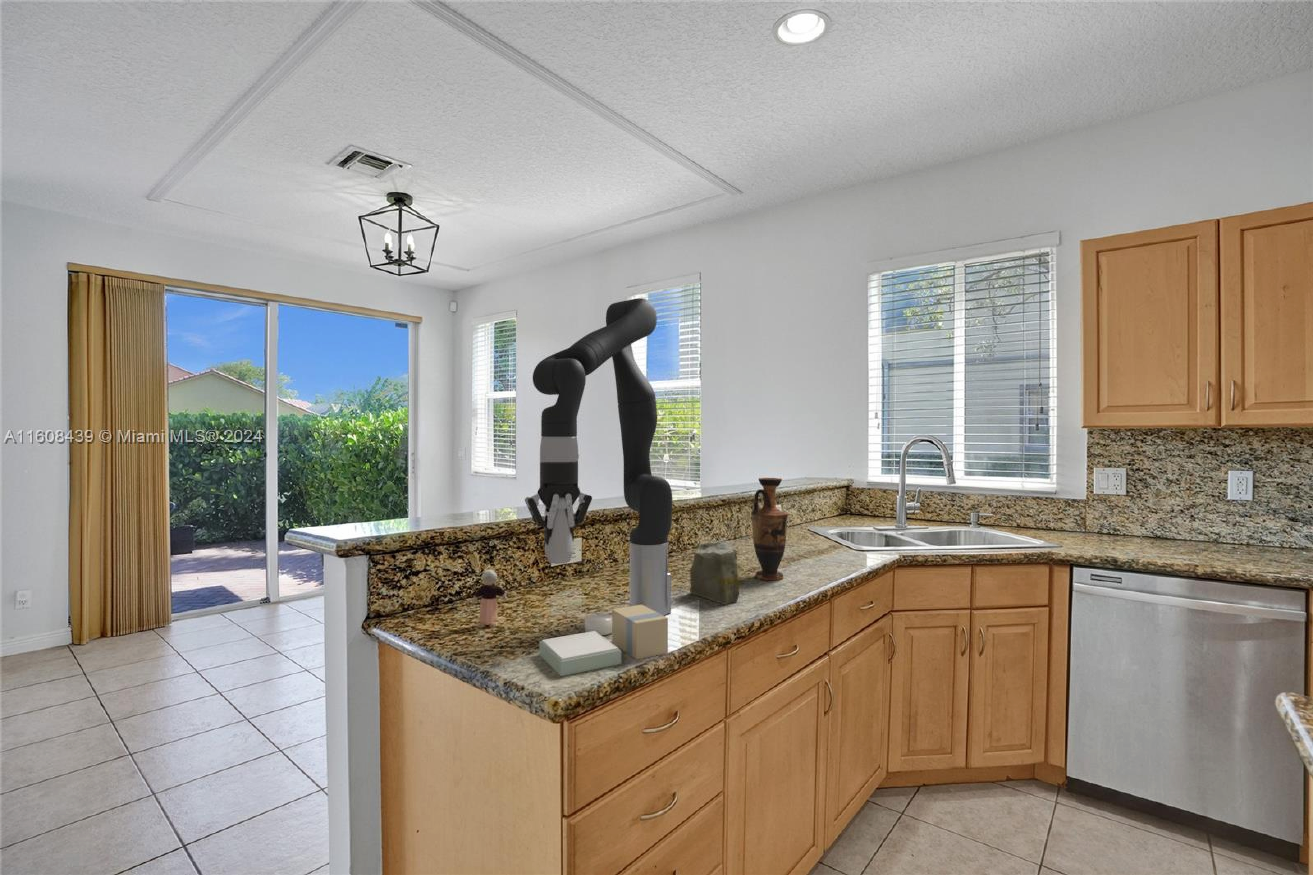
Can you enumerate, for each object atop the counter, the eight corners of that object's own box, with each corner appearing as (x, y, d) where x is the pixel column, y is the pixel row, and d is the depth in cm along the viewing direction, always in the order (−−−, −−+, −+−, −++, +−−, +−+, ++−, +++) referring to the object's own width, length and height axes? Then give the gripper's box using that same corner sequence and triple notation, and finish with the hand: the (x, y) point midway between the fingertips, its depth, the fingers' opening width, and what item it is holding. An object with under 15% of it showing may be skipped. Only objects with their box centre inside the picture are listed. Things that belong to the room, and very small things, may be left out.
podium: (595, 644, 126) (595, 630, 126) (621, 663, 115) (621, 648, 115) (539, 654, 120) (539, 639, 120) (560, 676, 109) (560, 659, 109)
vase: (788, 574, 188) (788, 477, 188) (787, 582, 177) (787, 479, 177) (752, 572, 190) (752, 476, 190) (749, 580, 180) (749, 479, 180)
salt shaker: (575, 564, 119) (575, 497, 119) (545, 565, 118) (545, 498, 118) (571, 558, 125) (571, 494, 125) (543, 559, 124) (543, 495, 124)
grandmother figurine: (473, 630, 135) (472, 572, 135) (471, 625, 138) (471, 569, 138) (508, 626, 138) (508, 570, 138) (506, 621, 141) (506, 566, 141)
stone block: (725, 606, 154) (725, 546, 154) (687, 593, 166) (687, 538, 166) (754, 599, 160) (754, 542, 160) (716, 587, 172) (716, 534, 172)
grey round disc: (597, 626, 138) (596, 613, 138) (620, 629, 135) (619, 616, 135) (579, 633, 133) (578, 619, 133) (602, 637, 129) (602, 622, 130)
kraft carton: (642, 637, 130) (642, 604, 130) (668, 653, 121) (668, 617, 121) (612, 643, 127) (611, 609, 127) (636, 660, 117) (636, 623, 117)
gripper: (585, 458, 128) (585, 540, 128) (519, 459, 121) (519, 546, 122) (599, 459, 121) (598, 546, 121) (529, 461, 115) (529, 552, 115)
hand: (558, 545), depth 121 cm, fingers closed on salt shaker, 3 cm apart
